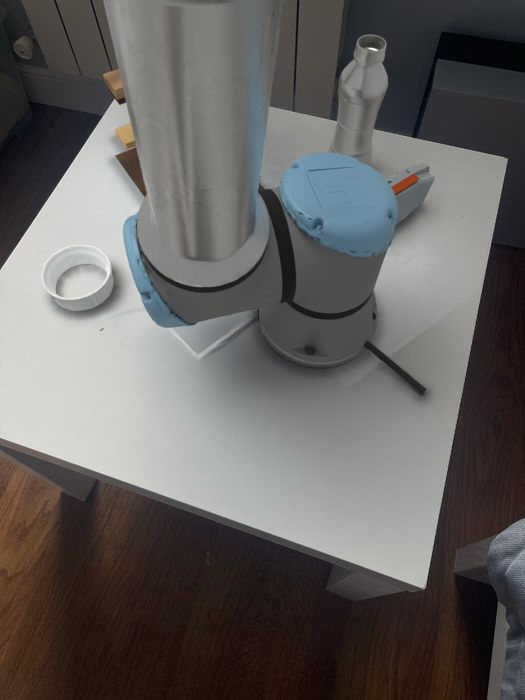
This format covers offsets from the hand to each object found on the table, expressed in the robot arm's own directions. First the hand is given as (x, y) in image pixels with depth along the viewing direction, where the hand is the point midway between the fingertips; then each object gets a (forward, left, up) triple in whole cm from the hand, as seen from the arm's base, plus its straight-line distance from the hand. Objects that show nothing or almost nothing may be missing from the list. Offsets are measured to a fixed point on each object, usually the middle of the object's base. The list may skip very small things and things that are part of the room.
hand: (147, 61), depth 74 cm
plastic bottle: (-20, -22, -14) cm, 33 cm away
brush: (0, 0, -3) cm, 3 cm away
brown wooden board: (-11, 0, -14) cm, 18 cm away
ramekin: (-20, +22, -14) cm, 33 cm away
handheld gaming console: (-32, -20, -14) cm, 40 cm away
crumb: (+3, +4, -14) cm, 15 cm away
